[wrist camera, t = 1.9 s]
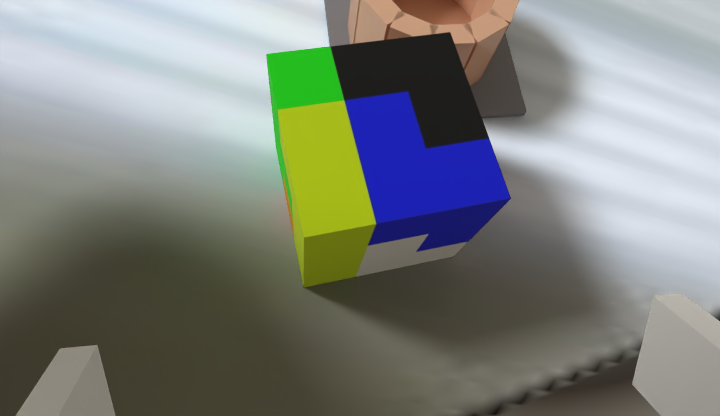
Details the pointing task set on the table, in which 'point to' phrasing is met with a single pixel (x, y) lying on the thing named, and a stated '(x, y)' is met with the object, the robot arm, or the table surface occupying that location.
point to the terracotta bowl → (436, 25)
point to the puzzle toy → (381, 155)
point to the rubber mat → (491, 92)
